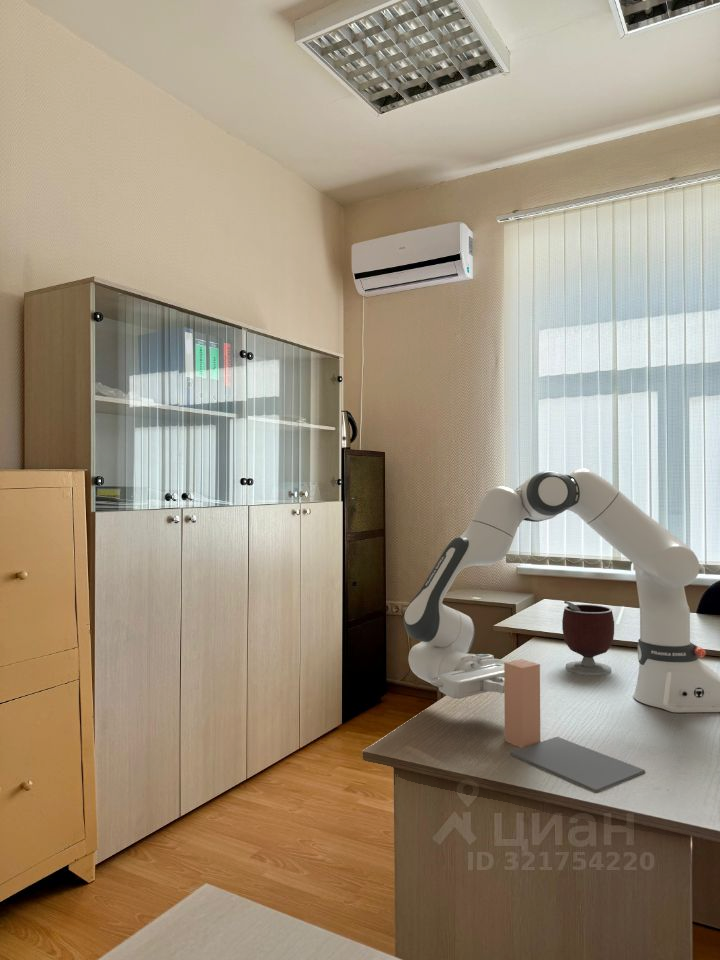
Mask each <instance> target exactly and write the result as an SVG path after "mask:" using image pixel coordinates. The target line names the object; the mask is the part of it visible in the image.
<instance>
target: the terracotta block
mask: <svg viewBox="0 0 720 960" xmlns="http://www.w3.org/2000/svg"><path fill="white" fill-rule="evenodd" d="M503 694H504V742H507V743H509V744H510V745H513V746H516V747H518V748H519V749H520V748H523V747H527V746H530V745H533V744H536V743H539V742H541V664H540V663H536V662H533V661H529V660H525V659H523V658H522V659H515V660H511V661H507V662H506V663H504V693H503Z"/></svg>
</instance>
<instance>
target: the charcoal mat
mask: <svg viewBox="0 0 720 960" xmlns="http://www.w3.org/2000/svg"><path fill="white" fill-rule="evenodd" d="M508 754H509V756H511V757H514V758H516V759H518V760H521V761H523V762H525V763H527V764H530V765H532V766H534V767H536V768H539V769H541V770H544V771H546V772H548V773H551V774H553V775H555V776H557V777H560V778H562V779H564V780H566V781H569V782H571V783H573V784H576V785H578V786H580V787H582V788H585V789H587V790H589V791H591V792H594V793H600V792H601V791H605V790H606V789H609V788H612V787H614V786H616V785H618V784H621V783H623V782H626V781H628V780H631V779H633V778H636V777H637V776H638V777H639V776H640V775H643V774H645V773H646V770H645V769H644V768H641V767H639V766H635V765H633V764H630V763H627V762H625V761H622V760H620V759H618V758H615V757H612V756H610V755H607V754H604V753H602V752H598V751H596V750H594V749H591V748H589V747H587V746H584V745H580V744H578V743H575V742H572V741H569V740H567V739H564V738H561V737H559V736H554V737H552V738H549V739H546V740H542V741H540V742H539V743H536V744H533V745H530V746H527V747H523V748H520V747H519V748H518V749H515V750H512V751H508Z"/></svg>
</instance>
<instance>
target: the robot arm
mask: <svg viewBox="0 0 720 960" xmlns="http://www.w3.org/2000/svg"><path fill="white" fill-rule="evenodd" d="M567 510H568V511H569V512H573V513H574V515H577V516H578V517H580V518H581V520H582V521H584V522H585V523H586V524H587V525H588V526H589V527H590V528H592V529H593V530H594V531H595V532H596V533H597V534H598V535H599V536H600V537H602V538H603V539H604V540H605V541H606V542H607V543H608V544H609V545H611V547H613V548H614V549H616V550H617V551H618V552H619V553H621V554H622V555H623V556H624V557H625V558H627V559H628V560H629V561H630V562H632V564H633V565H634V571H635V580H636V581H635V583H636V589H637V597H638V603H639V604H638V605H639V620H640V621H639V637H640V638H639V639H638V640H637V641H638V644H637V661H638V663H639V665H638V674H637V678H636V679H637V680H636V684H635V689H634V692H633V695H632V697H633V698H634V700H635V701H638V702H640V703H642V704H644V705H648V706H651V707H654V708H655V707H656V708H659V709H663V710H665V711H667V712H670V713H720V675H719V674H718V673H717V672H716V671H714V670H713V669H712V668H711V667H709V665H707V664H706V663H704V662H703V661H702V660H701V659H699V658H704V657H705V656H706V653H707V652H706V650H704V648H703V647H700V646H698V645H696V644H694V643H693V642H691V611H690V606H689V604H688V601H687V600H688V599H687V596H686V592H685V591H686V590H685V587H687V586H688V585H690V584H692V583H693V582H694V581H695V580H696V579H697V577H698V575H699V572H700V562H699V559H698V557H697V555H696V554H695V552H694V551H693V550H692V549H691V548H690V547H689V546H688V545H686V543H684V542H683V541H682V540H681V539H679V538H678V537H677V536H675V535H674V534H673V533H671V532H670V531H669V530H668V529H667V528H665V527H664V526H663V525H661V524H660V523H658V521H656V520H655V519H654V518H652V517H651V516H649V514H647V513H646V512H644V511H643V510H642V509H641V508H639V507H638V505H636V504H635V503H634V502H633V501H631V499H629V498H628V497H627V496H626V495H625V494H623V493H622V492H621V490H619V489H618V488H617V487H615V486H614V485H613V484H612V483H611V482H609V481H607V480H606V479H605V478H603V477H602V476H600V475H599V474H598V473H595V472H594V471H592V470H590V469H588V468H578V469H575V470H573V471H572V472H571V473H569V474H565V473H561V472H557V471H553V470H552V471H551V470H547V471H541V472H538V473H536V474H534V475H532V476H531V477H530V476H529V478H528V479H525V481H524V482H523V483H522V484H521V485H520V486H518V487H516V489H513V488H511V487H507V486H503V485H502V486H500V485H499V486H498V485H497V486H493V487H491V488H489V489H488V490H487V492H486V493H485V494H484V495H483V498H482V499H481V501H480V502H479V504H478V506H477V507H476V509H475V511H474V513H473V516H472V518H471V519H470V522H469V524H468V526H467V528H466V529H465V530H464V532H463V533H462V534H461V535H460V536H458V537H456V538H453V539H452V540H451V541H450V542H449V543H448V545H447V546H446V547H445V548H444V550H443V551H442V553H441V555H440V556H439V558H438V559H437V561H436V563H435V564H434V566H433V567H432V570H431V571H430V573H429V574H428V576H427V577H426V579H425V581H424V583H423V585H422V586H421V587H420V589H419V591H418V592H417V593H416V594H415V596H414V597H413V598H412V599H411V600H410V601H409V603H408V604H407V606H406V608H405V610H404V613H403V625H404V629H405V632H406V634H407V635H408V636H409V637H410V638H411V639H413V640H417V641H420V642H419V643H416V644H415V645H413V646H412V647H411V649H410V651H409V653H408V664H409V665H408V666H409V667H410V669H411V671H412V673H413V674H414V675H415V676H417V678H419V679H421V680H423V681H425V682H427V683H430V684H431V685H432V686H434V687H437V688H438V690H439V692H441V693H442V694H443V695H445V696H448V697H450V698H452V699H463V698H464V699H465V698H467V697H472V696H476V695H480V694H484V693H488V692H489V693H492V692H493V693H499V694H504V663H506V662H508V661H507V660H504V659H501V658H500V659H499V658H495V657H494V655H493V654H490V653H480V654H479V653H477V654H475V653H469V652H470V650H471V648H472V647H473V643H474V639H475V635H476V634H475V633H476V632H475V625H474V622H473V619H472V618H471V617H470V616H469V615H467V614H465V613H463V612H461V611H459V610H457V609H456V608H455V609H454V608H451V607H449V606H447V605H446V604H444V603H443V600H444V598H445V596H446V594H447V593H448V591H449V590H450V588H451V587H452V585H453V583H454V581H455V579H456V578H457V576H458V575H459V573H460V572H461V571H463V570H464V569H466V568H468V567H474V566H475V567H476V566H478V567H479V566H481V567H484V566H491V565H495V564H497V563H499V562H501V561H502V560H503V559H504V558H505V557H506V556H507V554H508V552H509V550H510V548H511V546H512V543H513V540H514V538H515V537H516V533H517V531H518V528H519V527H520V524H521V523H522V522H523V521H526V522H527V521H528V522H532V523H533V522H535V523H536V522H538V523H539V522H543V521H547V520H550V519H553V518H556V517H557V516H558V515H560V514H562V513H563V512H565V511H567Z"/></svg>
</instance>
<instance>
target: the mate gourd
mask: <svg viewBox="0 0 720 960" xmlns="http://www.w3.org/2000/svg"><path fill="white" fill-rule="evenodd" d="M563 603H564V604H566V605H565V606H564V609H563V614H562V620H561V622H562V625H561V626H562V636H563V639H564V643H565V645H566V646H567V647H568V649H569V650H570V651H572V652H574V653H576V654H578V655H580V656H581V657H582V659H581V660H577V661H576V660H575V661H569V662H567V663H566V664H565V669H566V670H567V671H568V672H570V671H571V673H573V672H574V673H573V674H579V675H583V674H584V675H583V676H605V675H609V674H611V673H612V667H611V666H609V665H608V664H605V663H601V662H597V661H595V659H594V657H597V656H600V655H602V654H605V653H607V652H608V651H609V649H611V647H612V645H613V642H614V637H615V619H614V613H613V609H612V608H611V607H608V606H603V605H597V604H585V603H582V604H574V603H572V602H571V601H567V600H564V601H563Z"/></svg>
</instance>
